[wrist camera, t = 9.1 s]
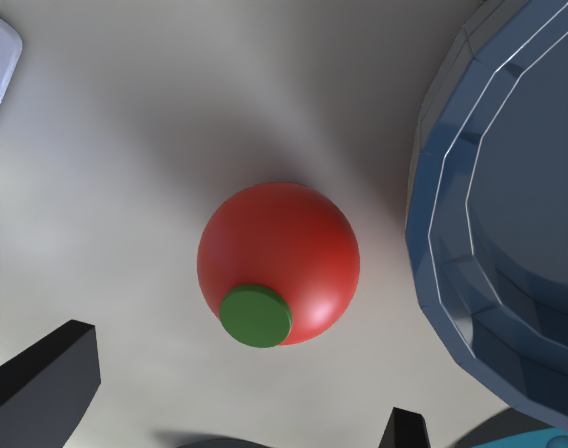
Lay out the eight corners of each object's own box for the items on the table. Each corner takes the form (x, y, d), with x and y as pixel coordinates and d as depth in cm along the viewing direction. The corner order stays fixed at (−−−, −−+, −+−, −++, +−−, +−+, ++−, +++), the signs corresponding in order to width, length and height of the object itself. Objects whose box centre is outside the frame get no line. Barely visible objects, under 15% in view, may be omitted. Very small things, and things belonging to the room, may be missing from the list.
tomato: (202, 222, 19) (136, 314, 15) (281, 125, 16) (229, 203, 12) (307, 301, 20) (273, 411, 15) (398, 221, 17) (389, 327, 13)
